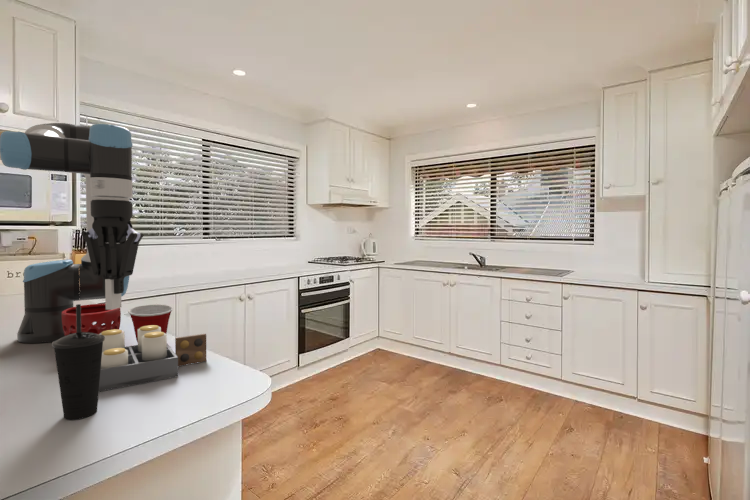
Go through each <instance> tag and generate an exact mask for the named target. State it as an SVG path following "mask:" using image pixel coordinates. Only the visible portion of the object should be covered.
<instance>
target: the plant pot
mask: <svg viewBox="0 0 750 500" xmlns="http://www.w3.org/2000/svg"><path fill="white" fill-rule="evenodd" d="M121 312H122V311H121V308H117V309H113V310H107V309H106V303H93V304H92V303H91V304H84V305H83V304H81V332H91V333H96V334H100V333H101V332H103V331H106V330H114V329H119V330H120V327H121V321H122V318H121V316H122V313H121ZM93 323H95V324H93ZM62 325H63V331H64V334H65V336H66V335H69V334H72V333H77V326H76V306H73V307H72V308H68V309H66V310H64V311H62Z"/></svg>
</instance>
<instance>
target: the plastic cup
mask: <svg viewBox="0 0 750 500" xmlns="http://www.w3.org/2000/svg"><path fill="white" fill-rule="evenodd" d="M173 310H174V307H173V306H172V305H169V304H160V303H159V304H157V303H156V304H144V305H138V306H134V307H132V308H129V309H128V310H127V312H128V314H129V316H130V318H131V321H132V324H133V330H134V334H135V339H136V342H137V344H138V329H139V328H140V327H143V326H148V325H157V326H159V327H161V332H164V333H166V334H167V333H168V327H169V321H170V318H171V315H172V312H173ZM167 335H168V334H167Z"/></svg>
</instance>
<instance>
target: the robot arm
mask: <svg viewBox="0 0 750 500" xmlns="http://www.w3.org/2000/svg"><path fill="white" fill-rule="evenodd" d="M132 147H133V142H132V132H131V130H129V129H128V128H126V127H124V126H119V125H115V124H108V123H94V124H92V125H90V126H87V125H80V124H72V123H66V122H51V123H49V122H48V123H41V124H36V125H33V126H31V127H29V128H27V129H26V130H25V132H24V131H20V130H19V131H11V130H9V131H8V130H5V131H2V133H0V161H1V163H2V164H3V165H4V166H5V167H6V168H12V169H19V170H24V171H25V170H33V171H45V172H46V171H48V172H61V173H63V172H64V173H71V174H82V175H84V177H85V206H86V209H85V212H86V213H85V214H86V215H85V216H86V217H85V218H86V219H85V221H86V230H85V231H84V230H83V231H82V232H81V236H82V238H83V240H84V241H85V243H86V253H85V254H84V255H83V256H82V257H81V258H80V262H81V263H74V261H73V260H72V259H60V260H52V261H44V262H43V261H42V262H37V263H33V264H29V265H27V266H26V267H25V268H24V271H23V280H22V282H23V292H24V293H23V296H24V301H23V302H24V303H23V304H24V306H23V307H24V315H23V317H22V319H21V323H20V326H19V328H18V331H17V333H16V334H17V342H18V343H22V344H40V343H50V342H54V341H55V340H58V339H60V338H62V337H64V336H65V334H64V331H63V325H62V311H64V310H66V309H68V308H72V307H74V302H75V301H76V302H77V301H78V302H79V301H90V300H92V301H94V300H105V303H104V304H106V309H107V310H113V309H117V308H120V309H121V308H122V297H124V296H125V295H126V293H127V291H128V287H129V282H130V276H132V275H133V274H134V268H135V263H136V260H137V259H136V258H137V254H138V248H139V244H140V243H141V240H142V238H143V237H144V234H143V232H138V231H136V230H135V229H134V228H133V224H132V222H131V219H132V218H133V203H132V201H131V200H132V199H133V197H134V196H133V194H134V193H133V177H132V176H133V175H132V174H133V173H132V172H133V167H132V166H133V165H132V162H133V159H132V158H133V157H132V155H133V153H132V151H133V149H132Z"/></svg>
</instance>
